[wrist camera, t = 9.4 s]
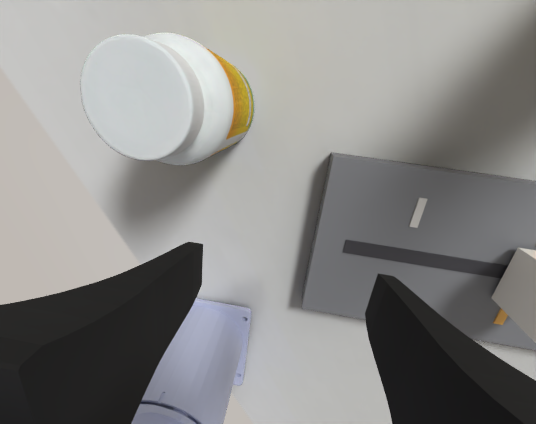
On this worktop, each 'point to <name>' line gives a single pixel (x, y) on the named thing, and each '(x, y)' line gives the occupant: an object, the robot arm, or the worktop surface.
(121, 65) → the supplement bottle
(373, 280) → the fader console
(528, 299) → the fader cap
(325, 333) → the worktop surface
